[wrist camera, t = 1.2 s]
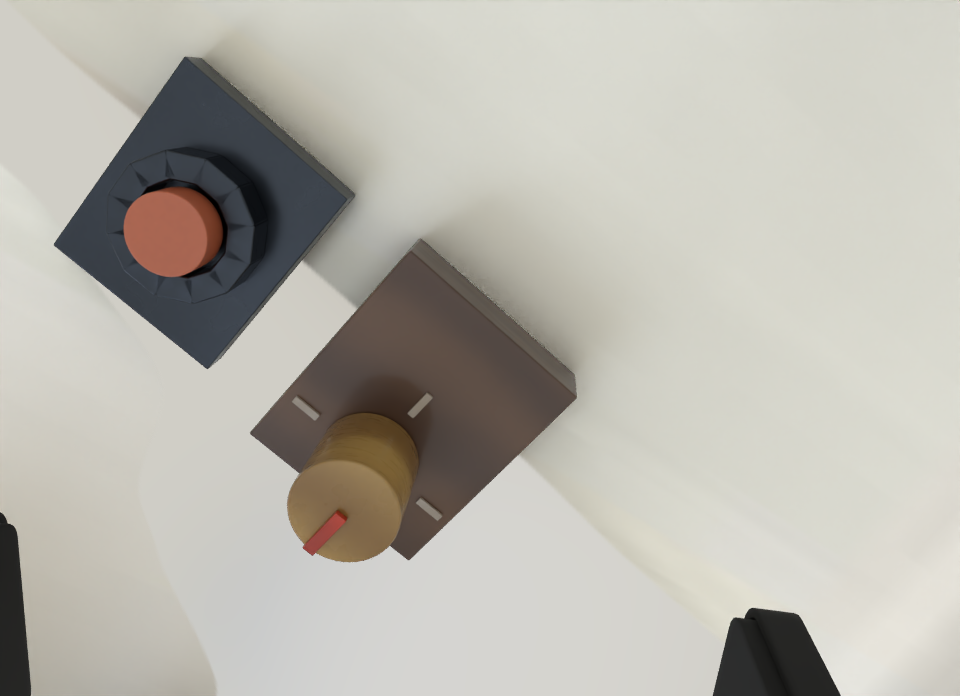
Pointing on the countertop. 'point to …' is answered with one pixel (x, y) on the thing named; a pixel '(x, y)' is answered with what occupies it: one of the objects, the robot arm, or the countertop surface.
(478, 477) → the panel
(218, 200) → the button block
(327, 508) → the knob
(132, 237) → the button
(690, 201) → the countertop surface
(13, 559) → the robot arm
